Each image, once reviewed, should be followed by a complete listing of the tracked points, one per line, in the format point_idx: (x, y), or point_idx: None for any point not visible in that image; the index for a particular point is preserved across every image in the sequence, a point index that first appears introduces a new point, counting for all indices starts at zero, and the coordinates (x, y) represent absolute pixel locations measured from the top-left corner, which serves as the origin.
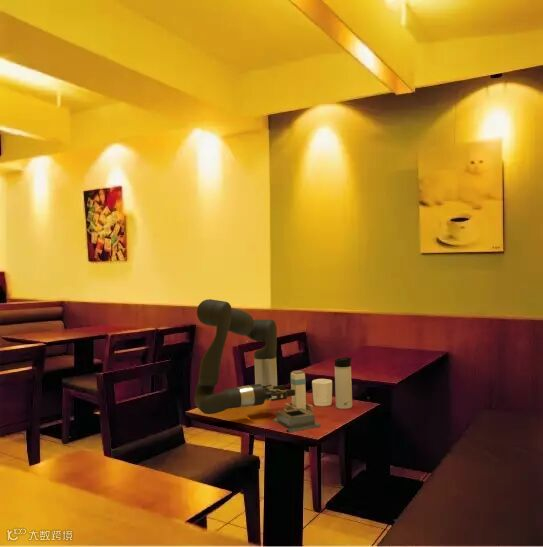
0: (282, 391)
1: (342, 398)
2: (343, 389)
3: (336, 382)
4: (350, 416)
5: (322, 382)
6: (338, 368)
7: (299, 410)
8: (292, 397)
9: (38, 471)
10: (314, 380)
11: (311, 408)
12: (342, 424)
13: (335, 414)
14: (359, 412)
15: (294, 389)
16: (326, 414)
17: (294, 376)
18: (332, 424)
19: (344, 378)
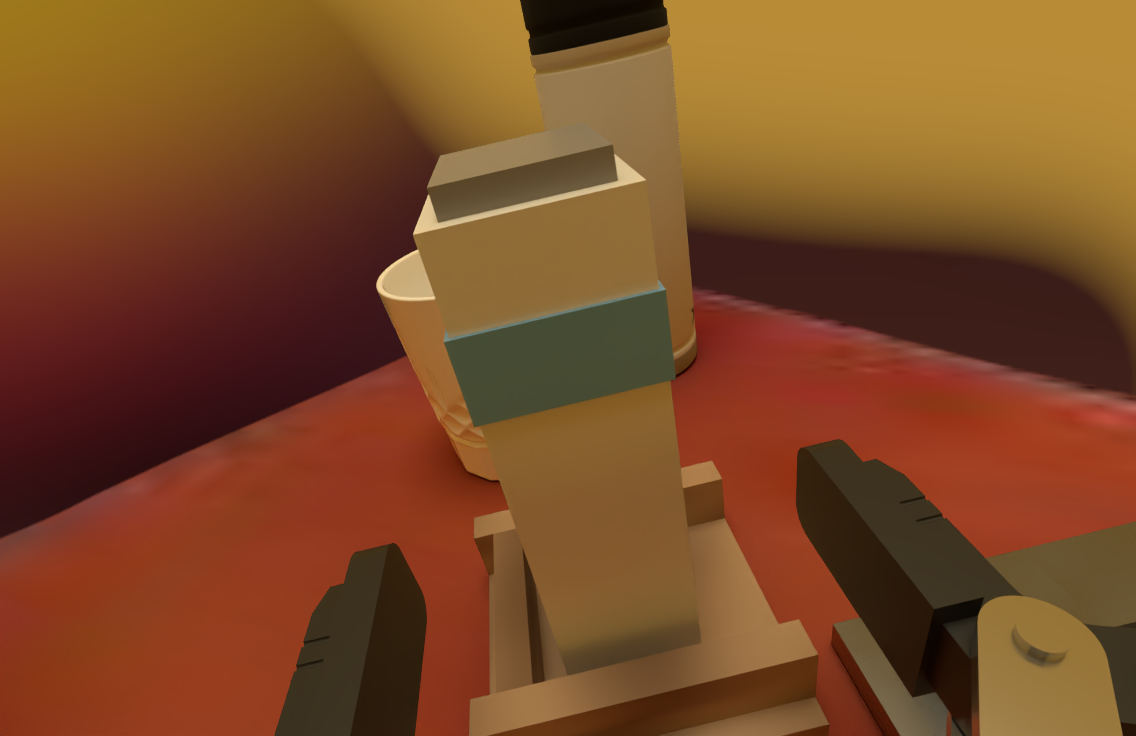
0: (1111, 713)
1: (686, 285)
2: (683, 218)
3: None
4: (824, 345)
5: (413, 286)
6: (645, 44)
7: (1112, 619)
8: (569, 578)
9: None
10: (387, 293)
11: (720, 492)
12: (1066, 389)
13: (761, 399)
14: (736, 314)
15: (626, 457)
16: (751, 442)
17: (604, 239)
18: (1091, 440)
19: (677, 128)
